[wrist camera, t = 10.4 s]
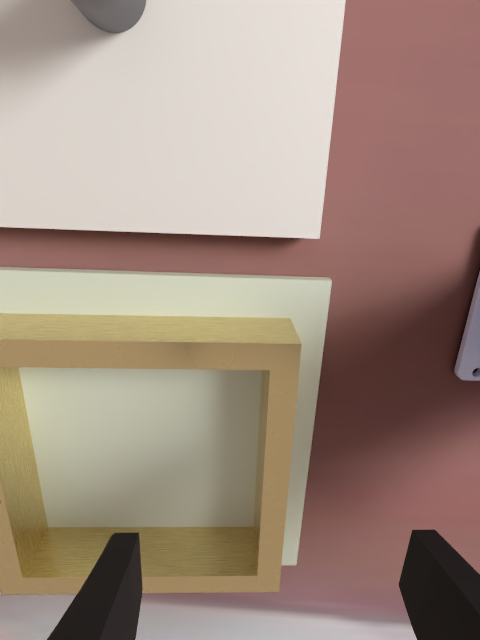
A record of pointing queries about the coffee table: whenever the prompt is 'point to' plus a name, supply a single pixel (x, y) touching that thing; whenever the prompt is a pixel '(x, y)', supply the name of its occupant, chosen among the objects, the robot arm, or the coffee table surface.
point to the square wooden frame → (155, 542)
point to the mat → (163, 404)
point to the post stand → (167, 114)
